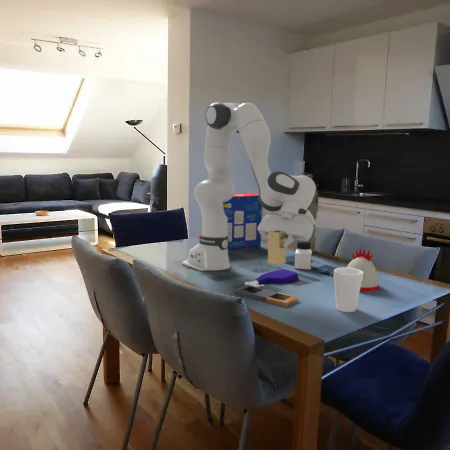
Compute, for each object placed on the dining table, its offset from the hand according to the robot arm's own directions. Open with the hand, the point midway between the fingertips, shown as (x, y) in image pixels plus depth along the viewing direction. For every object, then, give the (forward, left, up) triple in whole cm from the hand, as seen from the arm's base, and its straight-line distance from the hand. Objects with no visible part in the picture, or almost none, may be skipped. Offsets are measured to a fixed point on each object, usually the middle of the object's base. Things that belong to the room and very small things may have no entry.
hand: (276, 246), depth 159 cm
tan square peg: (0, +1, -6) cm, 6 cm away
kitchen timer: (+16, +37, -20) cm, 45 cm away
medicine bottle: (-15, +47, -20) cm, 53 cm away
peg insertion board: (-4, +1, -19) cm, 20 cm away
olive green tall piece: (-30, +77, -20) cm, 85 cm away
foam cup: (+23, +9, -20) cm, 31 cm away
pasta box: (-62, +57, -20) cm, 86 cm away
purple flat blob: (-14, +18, -20) cm, 30 cm away
